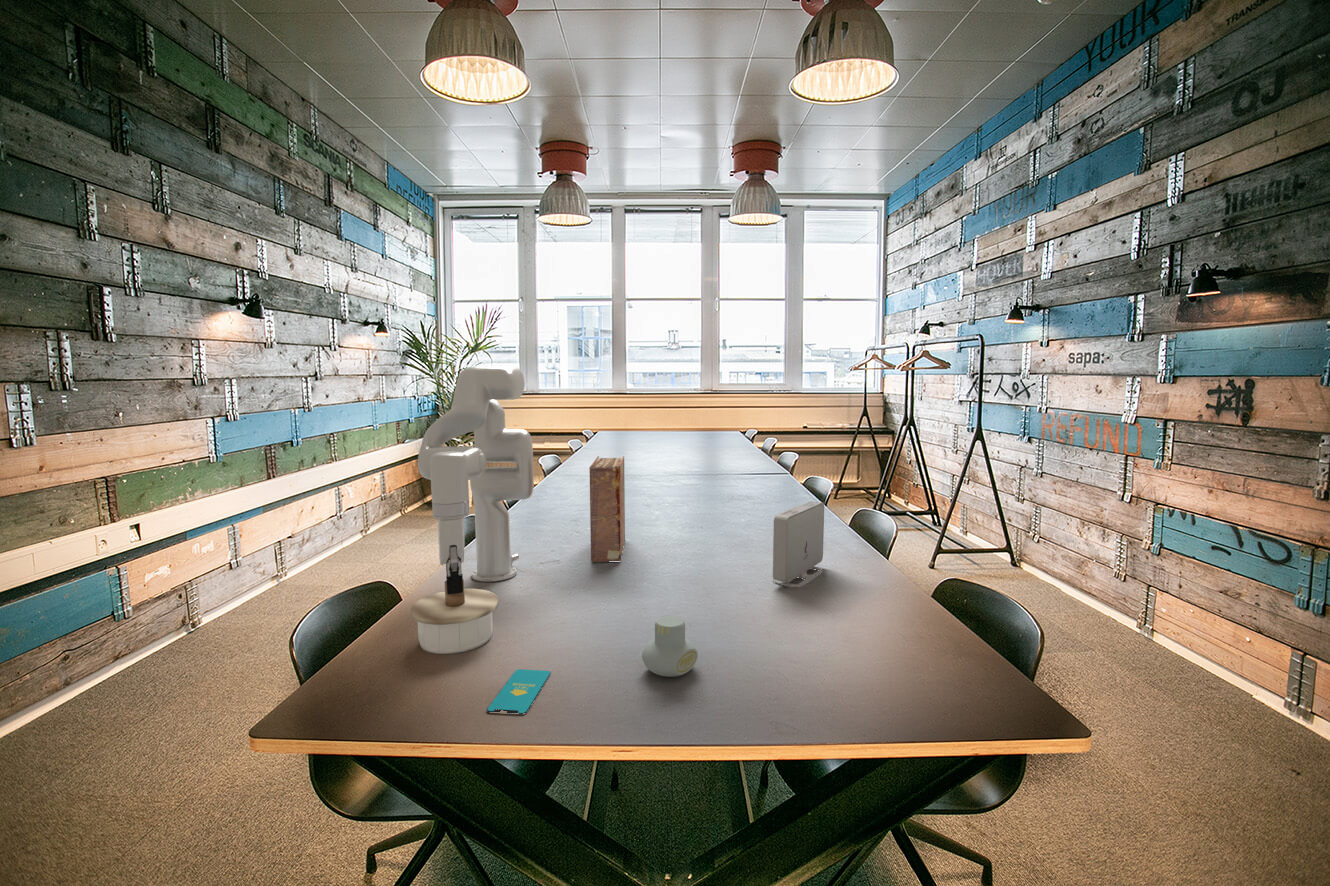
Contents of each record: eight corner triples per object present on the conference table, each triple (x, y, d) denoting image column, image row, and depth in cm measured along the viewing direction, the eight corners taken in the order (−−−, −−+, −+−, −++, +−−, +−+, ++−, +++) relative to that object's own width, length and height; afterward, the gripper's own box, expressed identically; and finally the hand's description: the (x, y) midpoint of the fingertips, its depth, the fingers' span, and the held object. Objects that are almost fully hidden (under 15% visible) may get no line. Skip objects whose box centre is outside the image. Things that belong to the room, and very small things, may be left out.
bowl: (452, 620, 141) (450, 591, 140) (505, 629, 136) (504, 600, 135) (404, 647, 127) (402, 615, 126) (461, 658, 122) (460, 626, 121)
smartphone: (552, 670, 116) (525, 712, 101) (552, 674, 116) (526, 717, 101) (516, 668, 117) (484, 710, 102) (516, 672, 117) (485, 715, 102)
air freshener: (671, 653, 124) (670, 607, 123) (703, 665, 119) (703, 617, 117) (635, 674, 115) (635, 624, 114) (668, 688, 110) (668, 636, 109)
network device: (792, 592, 158) (794, 519, 156) (763, 585, 164) (764, 514, 161) (829, 567, 178) (831, 502, 176) (802, 562, 184) (804, 498, 182)
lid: (450, 588, 142) (449, 564, 141) (514, 598, 136) (513, 573, 135) (391, 617, 125) (390, 590, 125) (461, 630, 119) (460, 601, 118)
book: (599, 540, 209) (597, 456, 205) (625, 540, 209) (624, 455, 206) (590, 563, 184) (589, 467, 180) (620, 563, 184) (619, 467, 180)
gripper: (432, 501, 135) (436, 574, 137) (431, 520, 119) (436, 602, 121) (467, 499, 137) (470, 570, 140) (471, 516, 121) (474, 597, 123)
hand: (454, 585), depth 130 cm, fingers open, 9 cm apart
